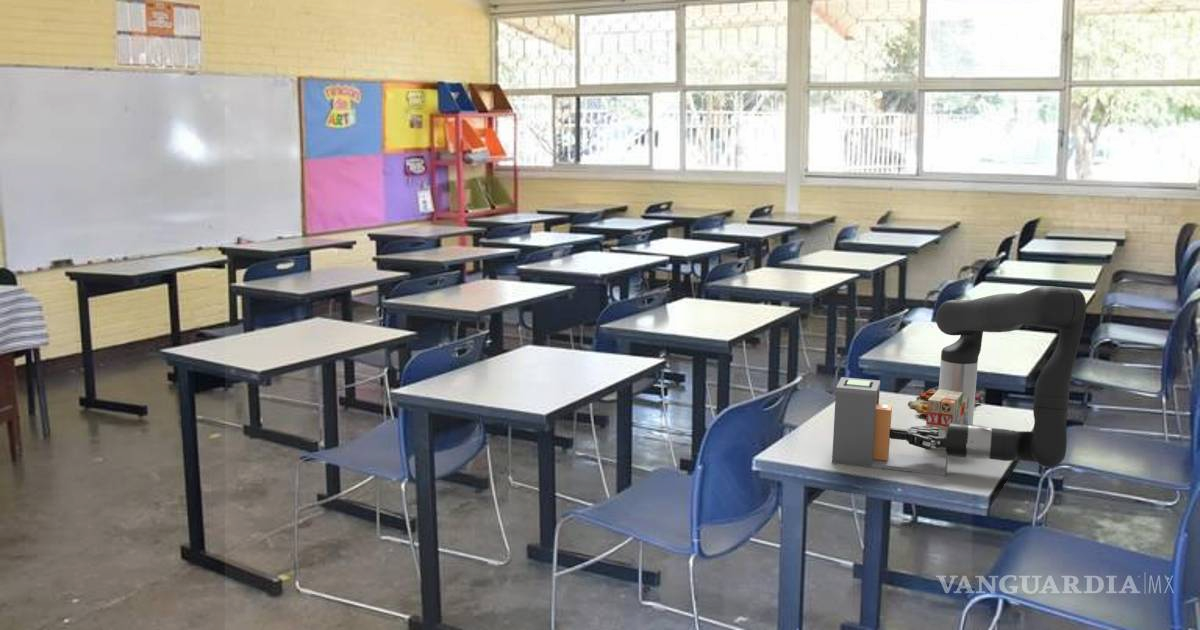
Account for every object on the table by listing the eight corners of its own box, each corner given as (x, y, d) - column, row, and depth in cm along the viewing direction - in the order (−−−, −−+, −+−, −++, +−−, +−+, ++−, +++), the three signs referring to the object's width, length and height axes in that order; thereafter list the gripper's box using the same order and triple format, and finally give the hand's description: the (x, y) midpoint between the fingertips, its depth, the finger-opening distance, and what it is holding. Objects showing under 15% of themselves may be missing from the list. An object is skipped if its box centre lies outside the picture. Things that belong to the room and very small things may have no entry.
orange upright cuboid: (853, 451, 245) (856, 401, 243) (888, 455, 242) (892, 404, 240) (852, 456, 241) (855, 406, 239) (887, 460, 238) (890, 409, 236)
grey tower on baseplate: (837, 449, 250) (841, 377, 247) (946, 461, 241) (951, 386, 238) (831, 462, 239) (836, 387, 236) (945, 475, 231) (951, 397, 228)
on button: (847, 399, 244) (848, 379, 243) (869, 402, 242) (870, 381, 241) (845, 404, 239) (846, 383, 238) (867, 407, 238) (868, 385, 237)
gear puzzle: (951, 422, 275) (952, 408, 274) (892, 414, 284) (893, 399, 283) (985, 399, 299) (985, 385, 299) (929, 392, 309) (930, 378, 308)
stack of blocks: (942, 427, 272) (946, 381, 270) (967, 430, 269) (971, 384, 266) (924, 447, 253) (927, 398, 251) (950, 451, 250) (954, 402, 248)
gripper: (969, 418, 239) (892, 410, 245) (970, 432, 227) (888, 424, 233) (967, 449, 241) (890, 441, 246) (967, 465, 228) (886, 456, 234)
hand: (889, 433), depth 239 cm, fingers closed
